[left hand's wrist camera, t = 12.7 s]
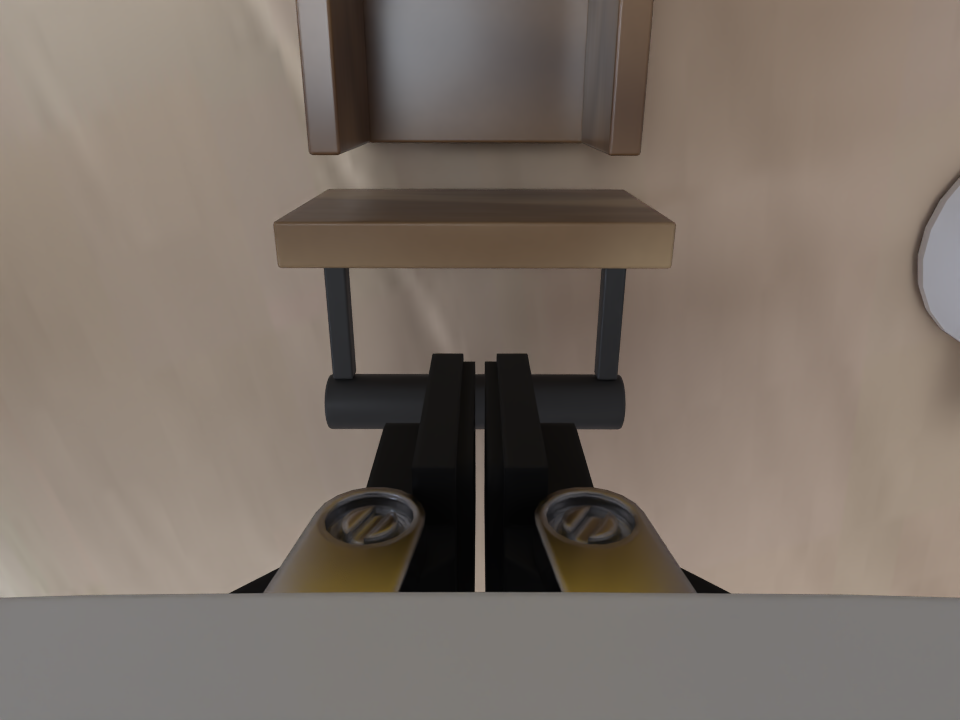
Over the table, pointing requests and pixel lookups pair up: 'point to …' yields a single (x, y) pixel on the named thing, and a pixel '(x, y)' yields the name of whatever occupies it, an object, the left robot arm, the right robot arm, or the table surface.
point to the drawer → (474, 212)
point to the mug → (942, 263)
